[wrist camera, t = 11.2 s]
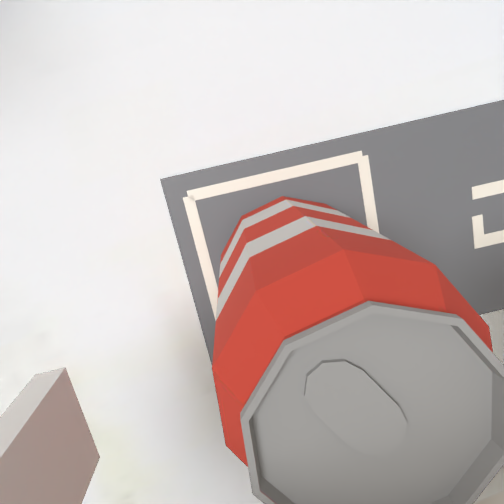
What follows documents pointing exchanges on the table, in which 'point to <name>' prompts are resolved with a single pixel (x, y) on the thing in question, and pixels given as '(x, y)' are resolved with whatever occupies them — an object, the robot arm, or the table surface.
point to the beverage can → (351, 366)
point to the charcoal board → (366, 199)
